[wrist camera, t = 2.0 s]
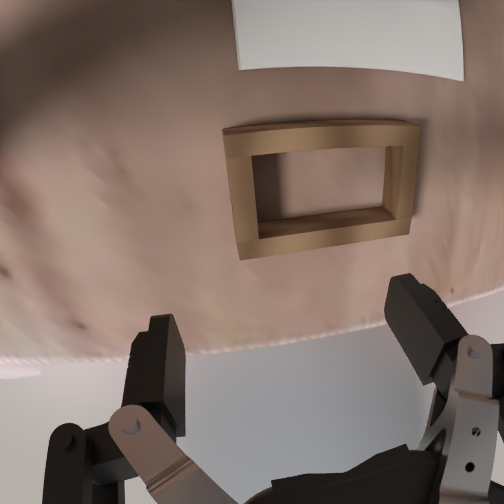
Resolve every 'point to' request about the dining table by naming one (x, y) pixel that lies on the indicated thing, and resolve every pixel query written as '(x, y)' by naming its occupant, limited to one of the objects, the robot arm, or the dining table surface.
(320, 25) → the hook board
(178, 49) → the dining table surface
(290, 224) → the walnut loop
